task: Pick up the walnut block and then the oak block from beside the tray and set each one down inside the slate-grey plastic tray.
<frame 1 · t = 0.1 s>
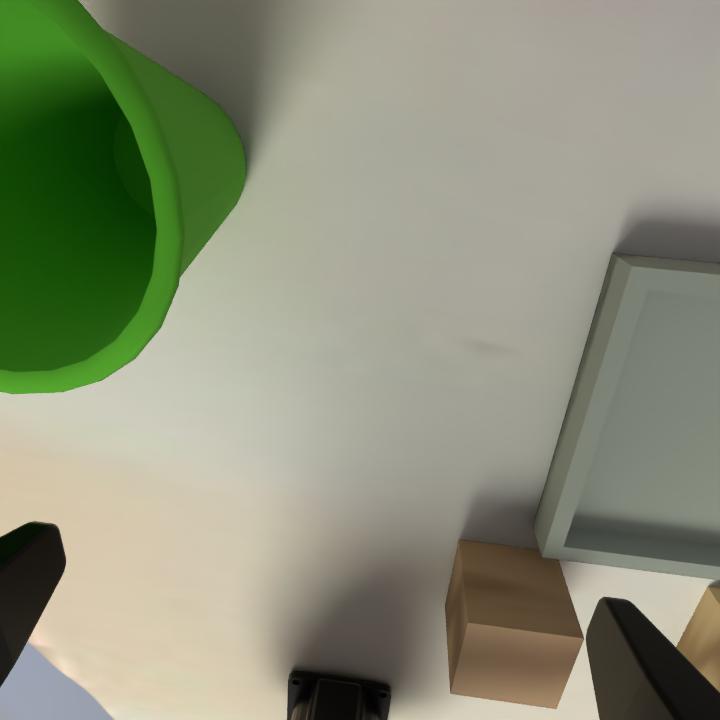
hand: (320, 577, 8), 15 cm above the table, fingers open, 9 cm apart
walnut block: (497, 578, 28), on the table
cup: (185, 159, 20), on the table
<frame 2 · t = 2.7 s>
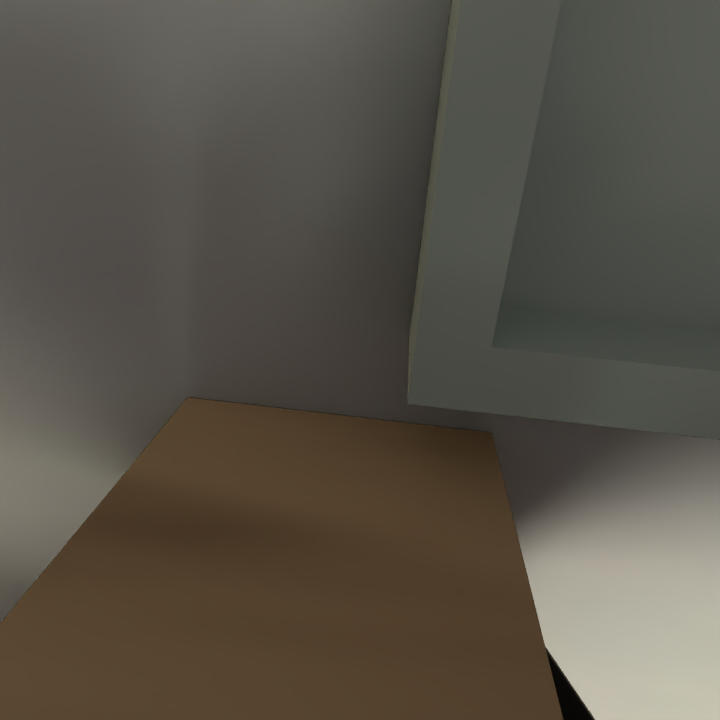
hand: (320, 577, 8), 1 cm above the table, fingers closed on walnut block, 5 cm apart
walnut block: (329, 531, 9), on the table, touching gripper
when the fingers open (3 cm above the table, at t = 6.2 s): walnut block drops 1 cm, resting on tray.
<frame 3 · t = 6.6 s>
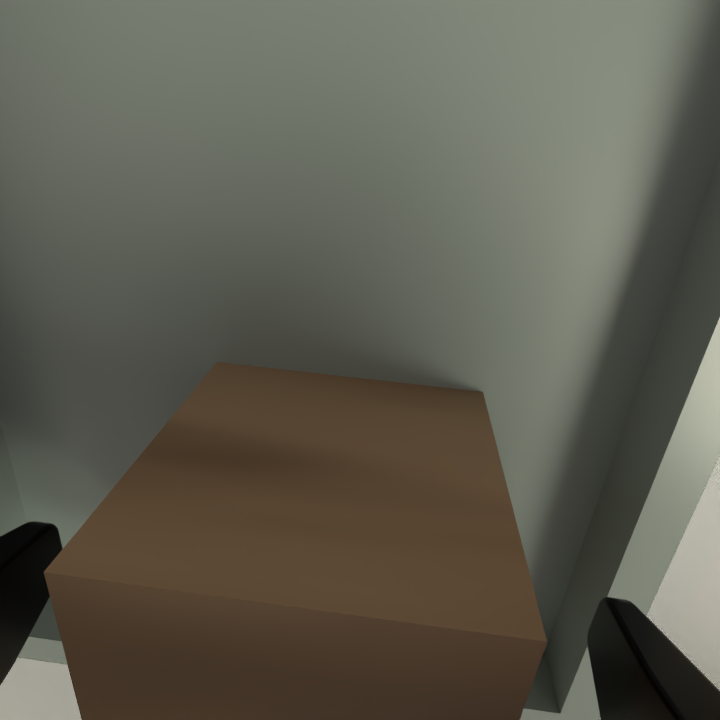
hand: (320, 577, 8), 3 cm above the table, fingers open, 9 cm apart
tray: (299, 334, 10), on the table
walnut block: (340, 483, 11), point 1 cm above the table, touching tray
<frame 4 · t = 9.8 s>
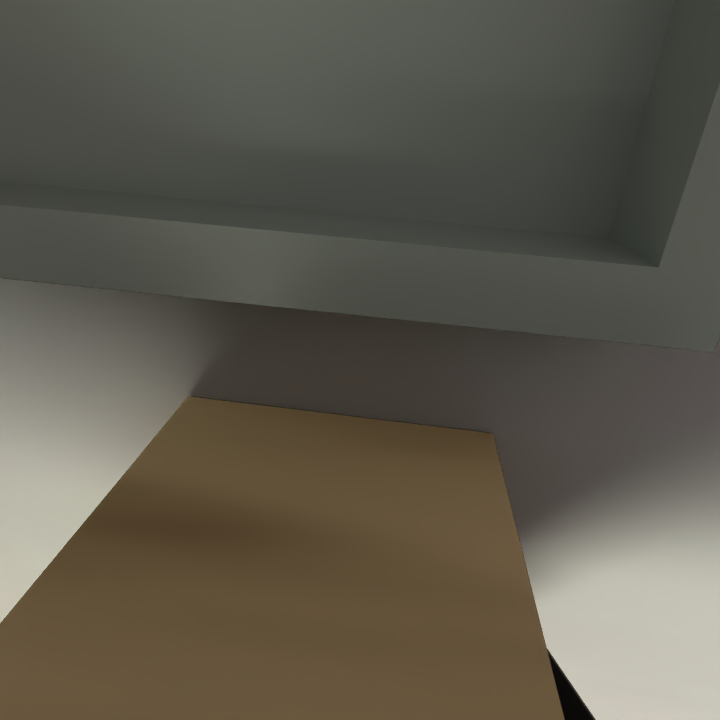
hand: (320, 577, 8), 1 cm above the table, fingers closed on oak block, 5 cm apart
oak block: (329, 531, 9), on the table, touching gripper
when the fingers open (3 cm above the table, at t = 13.5 s): oak block drops 1 cm, resting on tray.
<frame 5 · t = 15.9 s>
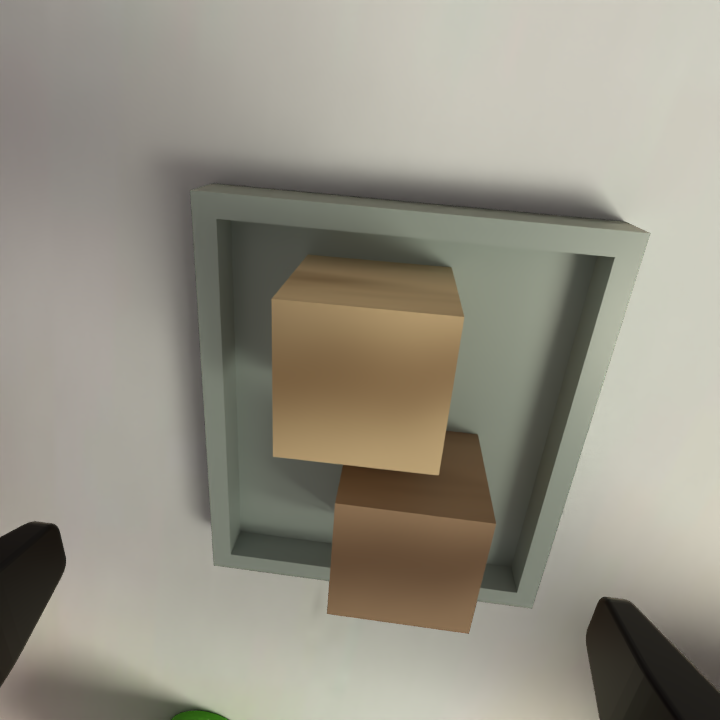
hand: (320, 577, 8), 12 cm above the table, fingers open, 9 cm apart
oak block: (373, 328, 19), point 1 cm above the table, touching tray
tray: (390, 405, 21), on the table
walnut block: (407, 477, 21), point 1 cm above the table, touching tray
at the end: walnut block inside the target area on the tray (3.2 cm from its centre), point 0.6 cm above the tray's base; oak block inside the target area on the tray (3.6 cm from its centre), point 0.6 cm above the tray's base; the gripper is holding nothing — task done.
